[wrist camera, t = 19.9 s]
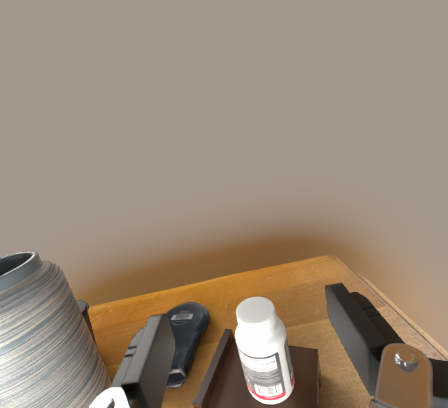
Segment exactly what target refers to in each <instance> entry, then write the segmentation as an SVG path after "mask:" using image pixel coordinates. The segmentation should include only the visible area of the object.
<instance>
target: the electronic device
mask: <svg viewBox="0 0 448 408" xmlns="http://www.w3.org/2000/svg"><path fill="white" fill-rule="evenodd" d="M166 315H167V318H168V321H169V324H170V326H171V329H172V332H173V335H174V339H175V352H174V356H173V360H172V364H171V368H170V372H169V377H168V381H167V385H166V387H167V388H174V387H179V386H180V385H182V384H183V383H184V382H185V381H186V377H187V374H188V372H189V369H190V366H191V364H192V361H193V358H194V356H195V353H196V351H197V347H198V345H199V342H200V339H201V337H202V335H203V333H204V332H205V330H206V329H207V326H208V324H209V317H210V316H209V312H208V311H207V309H206V308H205V307H204V306H203V305H201V304H199V303H195V302H187V303H184V304H181V305H179V306H176V307H174V308H172V309H171V310H169V311H168V312H167V313H166Z"/></svg>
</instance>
